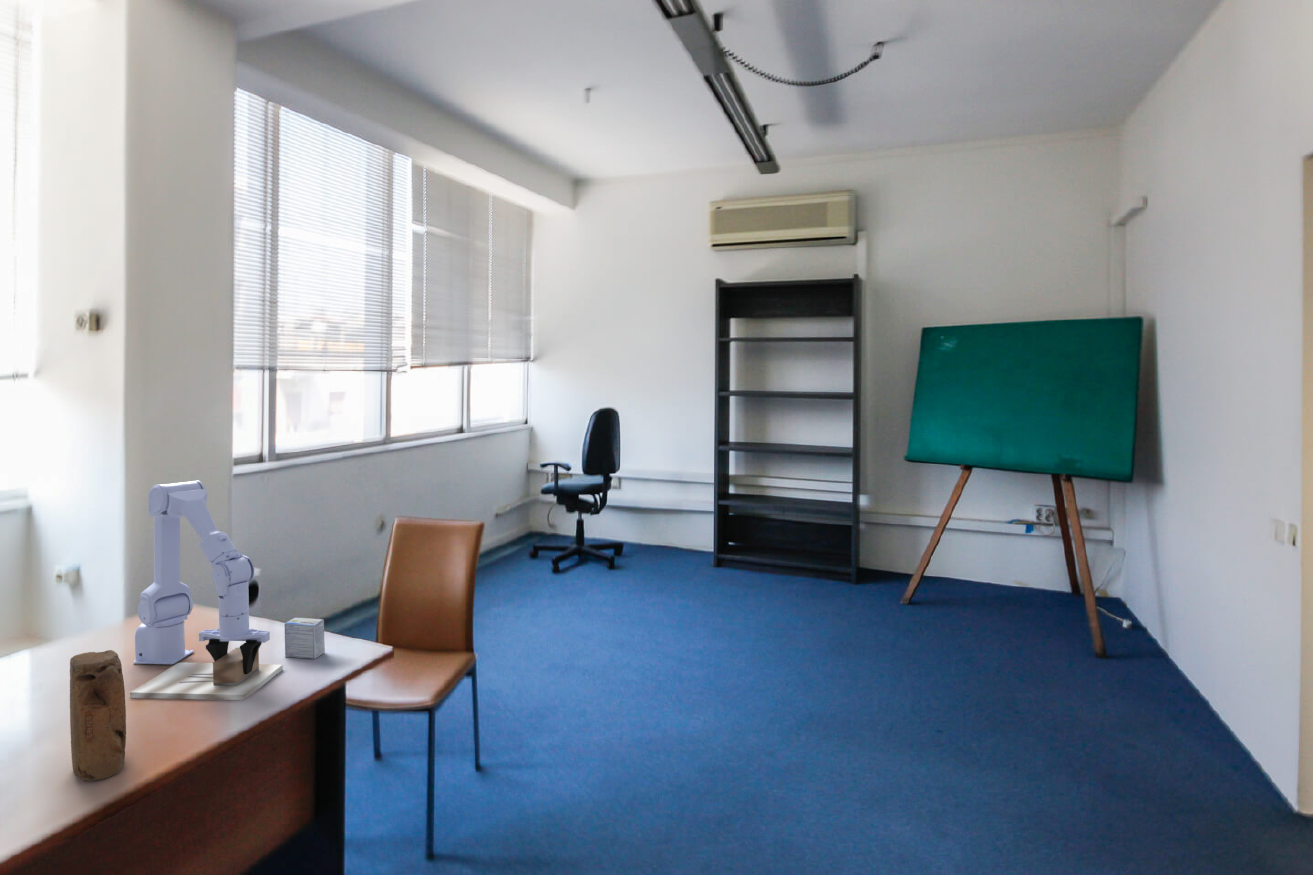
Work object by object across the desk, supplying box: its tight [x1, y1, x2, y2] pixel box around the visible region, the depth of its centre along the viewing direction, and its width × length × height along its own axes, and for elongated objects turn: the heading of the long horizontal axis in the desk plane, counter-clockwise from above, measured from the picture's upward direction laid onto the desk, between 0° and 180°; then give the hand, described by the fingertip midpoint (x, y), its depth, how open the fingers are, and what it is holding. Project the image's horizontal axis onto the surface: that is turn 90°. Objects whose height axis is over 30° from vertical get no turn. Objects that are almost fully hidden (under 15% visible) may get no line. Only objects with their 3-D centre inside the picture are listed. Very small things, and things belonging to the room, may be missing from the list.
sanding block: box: [212, 647, 260, 686], centre depth 161 cm, size 5×9×5 cm, turn 1°
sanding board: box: [129, 661, 284, 701], centre depth 160 cm, size 24×16×1 cm, turn 91°
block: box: [69, 649, 127, 782], centre depth 125 cm, size 11×8×20 cm
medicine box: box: [284, 617, 326, 660], centre depth 177 cm, size 8×4×9 cm, turn 84°
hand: (235, 672), depth 160 cm, fingers closed on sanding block, 5 cm apart
